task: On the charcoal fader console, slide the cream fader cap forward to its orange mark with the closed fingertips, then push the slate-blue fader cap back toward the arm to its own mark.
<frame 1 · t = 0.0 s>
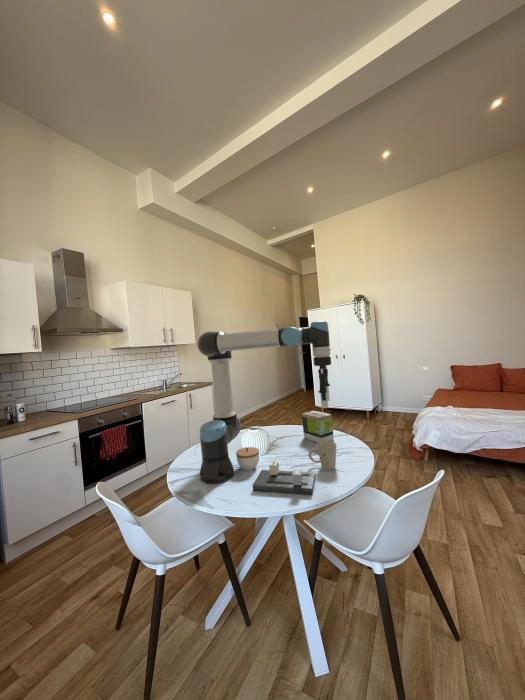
hand: (325, 404, 124), 28 cm above the table, fingers open, 13 cm apart
tea box: (318, 439, 160), on the table
mug: (323, 467, 125), on the table
console: (285, 484, 112), on the table
lidded jar: (248, 468, 131), on the table
fader right: (297, 477, 107), point 5 cm above the table, slide at 11.0 cm
fader left: (274, 467, 117), point 5 cm above the table, slide at 0.0 cm
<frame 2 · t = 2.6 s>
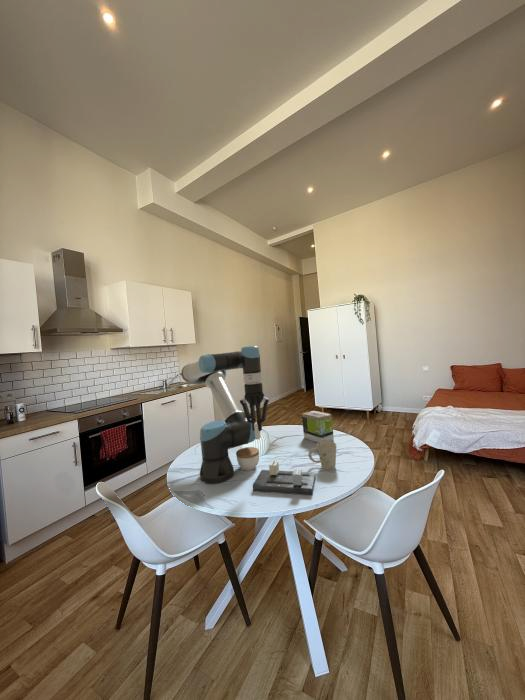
hand: (258, 438, 118), 17 cm above the table, fingers closed
nothing on the table moved.
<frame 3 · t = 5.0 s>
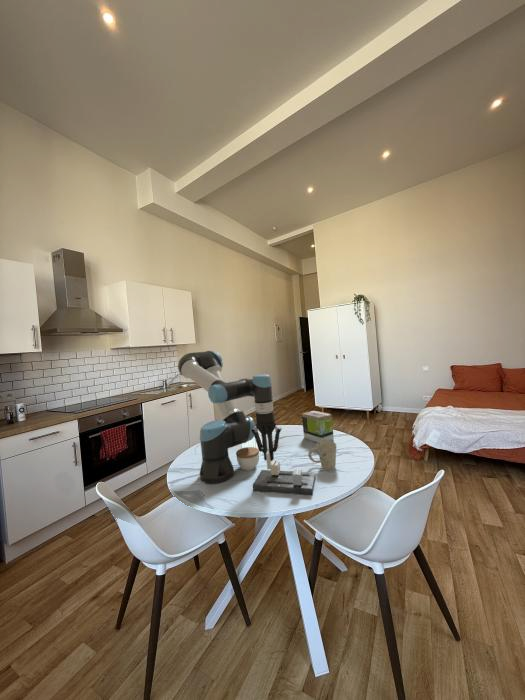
hand: (269, 467, 117), 5 cm above the table, fingers closed
fader left: (275, 467, 117), point 5 cm above the table, slide at 0.5 cm, touching gripper
everything else where it was.
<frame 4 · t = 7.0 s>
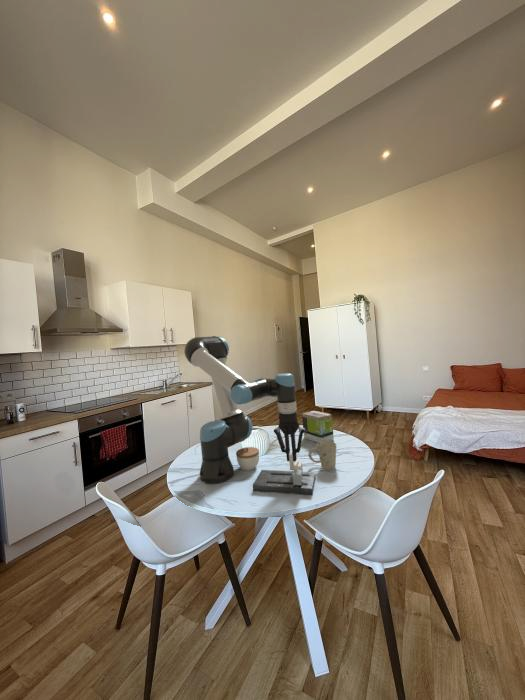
hand: (292, 468, 114), 5 cm above the table, fingers closed
fader left: (298, 468, 114), point 5 cm above the table, slide at 10.1 cm
everything else where it was.
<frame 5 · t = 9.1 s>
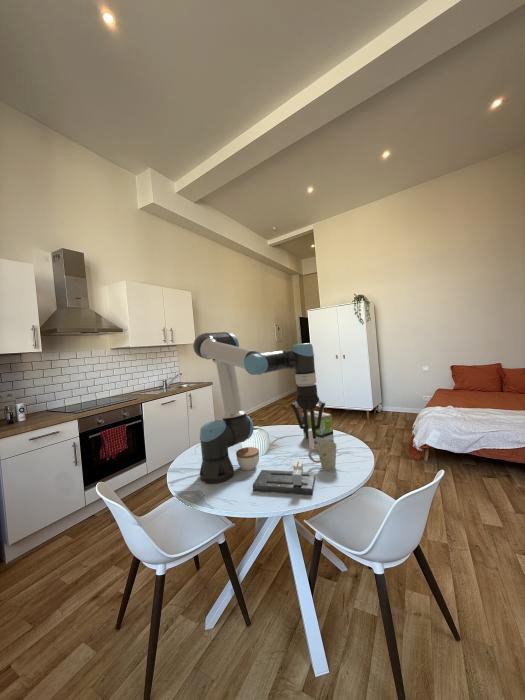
hand: (312, 446, 105), 17 cm above the table, fingers closed
nothing on the table moved.
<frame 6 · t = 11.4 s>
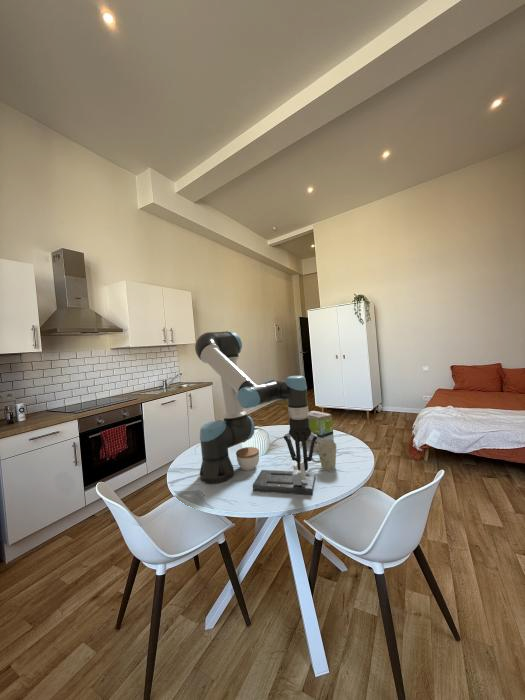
hand: (303, 478, 107), 5 cm above the table, fingers closed
fader right: (297, 477, 107), point 5 cm above the table, slide at 11.0 cm, touching gripper
everything else where it was.
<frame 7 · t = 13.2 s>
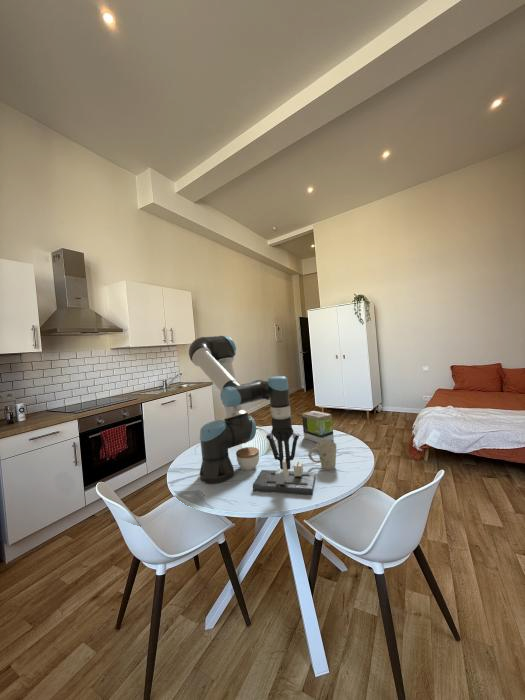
hand: (286, 476, 108), 5 cm above the table, fingers closed
fader right: (280, 476, 109), point 5 cm above the table, slide at 4.3 cm, touching gripper
everything else where it was.
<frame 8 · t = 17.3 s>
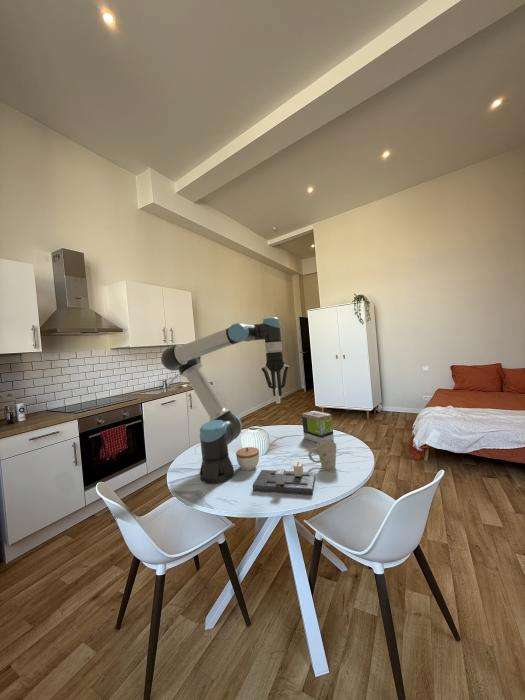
hand: (278, 402, 128), 29 cm above the table, fingers closed
fader right: (280, 476, 109), point 5 cm above the table, slide at 4.3 cm
everything else where it was.
at the end: fader left slide at 10.2 cm; fader right slide at 4.3 cm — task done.
